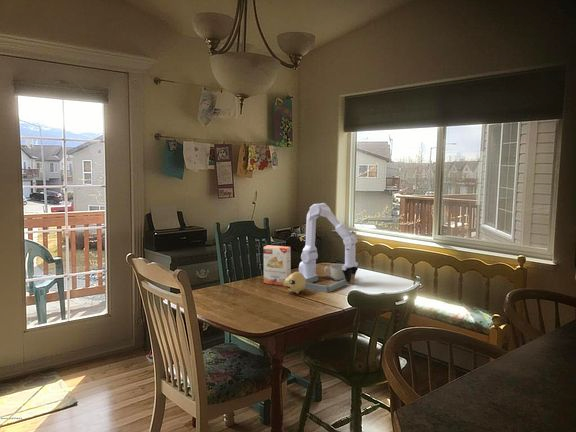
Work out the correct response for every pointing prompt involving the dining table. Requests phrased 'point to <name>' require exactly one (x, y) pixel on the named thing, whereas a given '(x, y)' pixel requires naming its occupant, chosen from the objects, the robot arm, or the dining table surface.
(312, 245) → the robot arm
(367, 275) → the dining table surface
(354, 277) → the walnut block
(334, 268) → the teacup
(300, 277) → the yellow lumpy rounded piece
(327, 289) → the gray open frame
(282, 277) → the cracker box
